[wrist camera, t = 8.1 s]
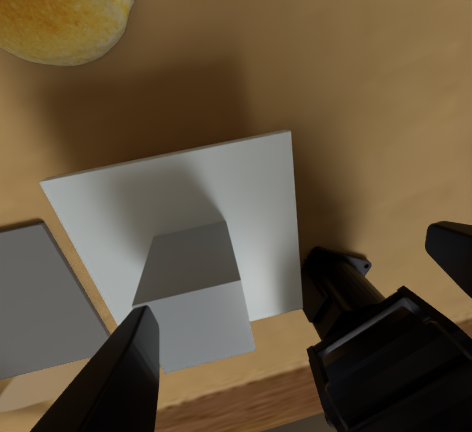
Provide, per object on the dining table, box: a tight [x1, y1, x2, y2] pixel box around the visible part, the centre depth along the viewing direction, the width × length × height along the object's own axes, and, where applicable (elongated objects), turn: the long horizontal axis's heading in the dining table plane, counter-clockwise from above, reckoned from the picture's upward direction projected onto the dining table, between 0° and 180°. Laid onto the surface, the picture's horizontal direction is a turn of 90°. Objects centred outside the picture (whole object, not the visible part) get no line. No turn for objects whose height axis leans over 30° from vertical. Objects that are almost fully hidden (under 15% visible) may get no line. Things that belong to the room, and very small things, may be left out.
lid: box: [39, 129, 303, 374], centre depth 12 cm, size 12×12×6 cm
